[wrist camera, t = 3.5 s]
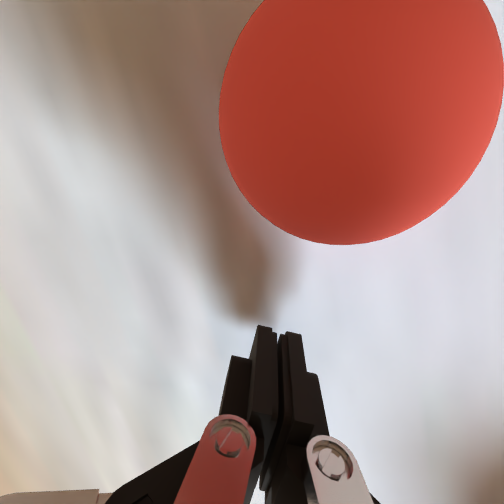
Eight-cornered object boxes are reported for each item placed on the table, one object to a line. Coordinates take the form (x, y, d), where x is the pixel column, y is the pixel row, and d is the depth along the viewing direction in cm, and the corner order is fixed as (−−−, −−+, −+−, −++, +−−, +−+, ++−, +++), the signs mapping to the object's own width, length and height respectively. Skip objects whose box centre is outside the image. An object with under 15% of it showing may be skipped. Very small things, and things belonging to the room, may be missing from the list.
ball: (221, 197, 11) (169, 250, 6) (253, 1, 9) (223, -231, 3) (380, 230, 11) (490, 317, 6) (447, 43, 9) (727, -120, 4)
